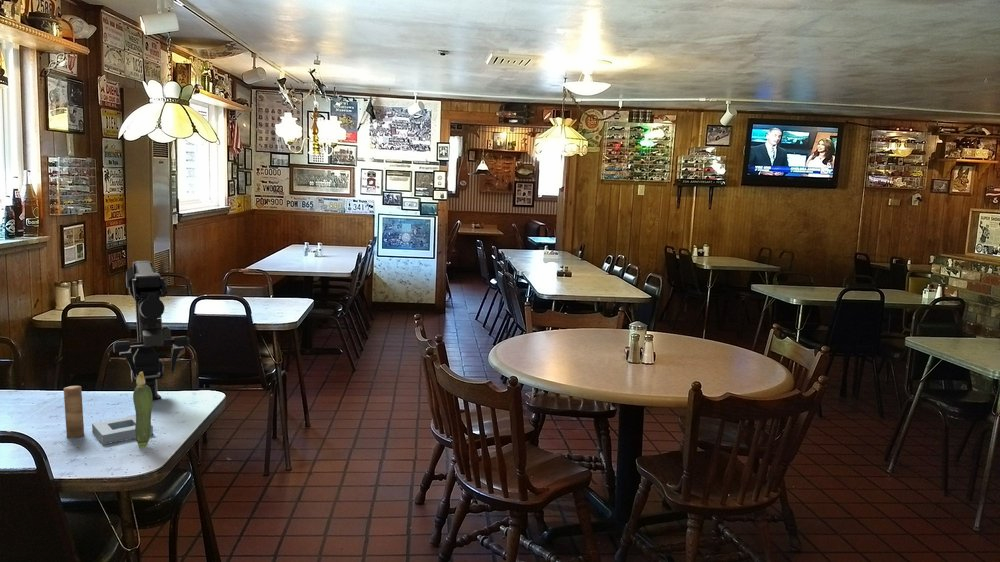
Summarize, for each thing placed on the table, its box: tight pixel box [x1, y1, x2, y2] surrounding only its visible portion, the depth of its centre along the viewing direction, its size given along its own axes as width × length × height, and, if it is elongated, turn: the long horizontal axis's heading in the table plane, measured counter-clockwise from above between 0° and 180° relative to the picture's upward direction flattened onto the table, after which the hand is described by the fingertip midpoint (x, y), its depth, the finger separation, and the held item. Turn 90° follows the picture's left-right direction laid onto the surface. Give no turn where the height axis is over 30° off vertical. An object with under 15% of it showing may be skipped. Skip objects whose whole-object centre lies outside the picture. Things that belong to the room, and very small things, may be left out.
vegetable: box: [132, 371, 154, 449], centre depth 180 cm, size 4×4×20 cm
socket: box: [91, 414, 154, 445], centre depth 190 cm, size 12×12×2 cm
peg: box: [63, 385, 85, 439], centre depth 187 cm, size 4×4×13 cm
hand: (153, 375), depth 197 cm, fingers open, 9 cm apart
